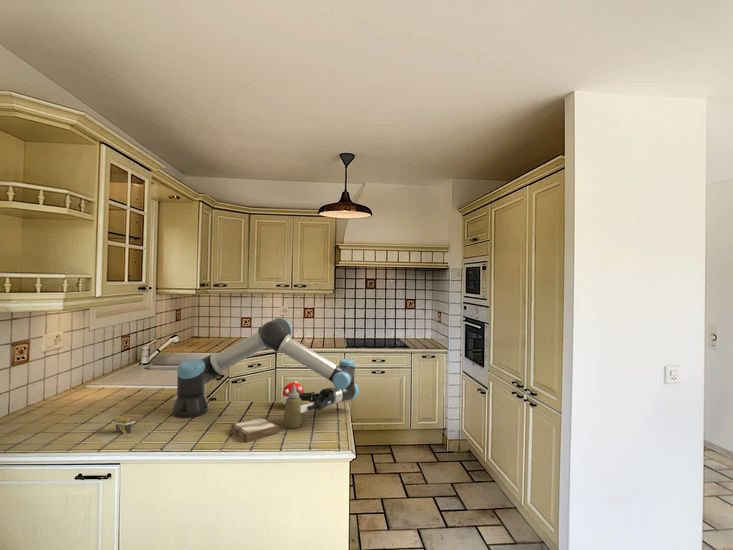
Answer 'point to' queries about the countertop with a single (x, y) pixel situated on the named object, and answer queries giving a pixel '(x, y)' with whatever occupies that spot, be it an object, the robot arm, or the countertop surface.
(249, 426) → the picture frame
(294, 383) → the mushroom
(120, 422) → the platform
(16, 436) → the countertop surface
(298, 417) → the squeeze bottle
